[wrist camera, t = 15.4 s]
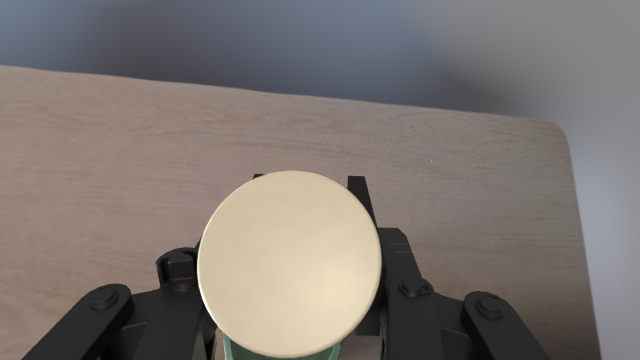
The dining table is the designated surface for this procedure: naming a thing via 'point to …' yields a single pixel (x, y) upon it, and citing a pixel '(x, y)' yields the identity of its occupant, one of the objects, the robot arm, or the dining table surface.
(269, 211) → the cream banded cylinder
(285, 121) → the dining table surface
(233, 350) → the tumbler
